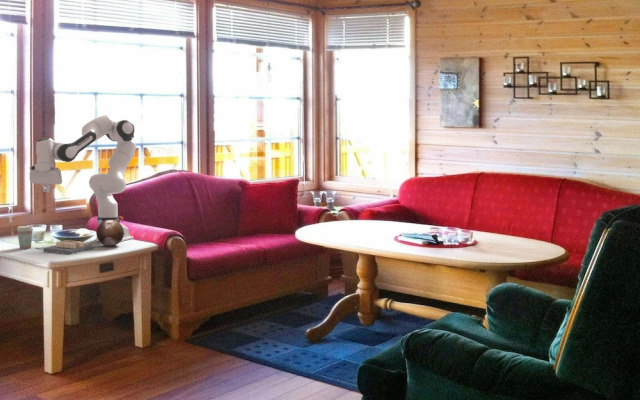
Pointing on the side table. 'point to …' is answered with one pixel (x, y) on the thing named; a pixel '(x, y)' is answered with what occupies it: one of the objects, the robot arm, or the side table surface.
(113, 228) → the wooden sphere
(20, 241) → the coffee cup
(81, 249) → the board
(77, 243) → the plaque
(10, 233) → the side table surface
